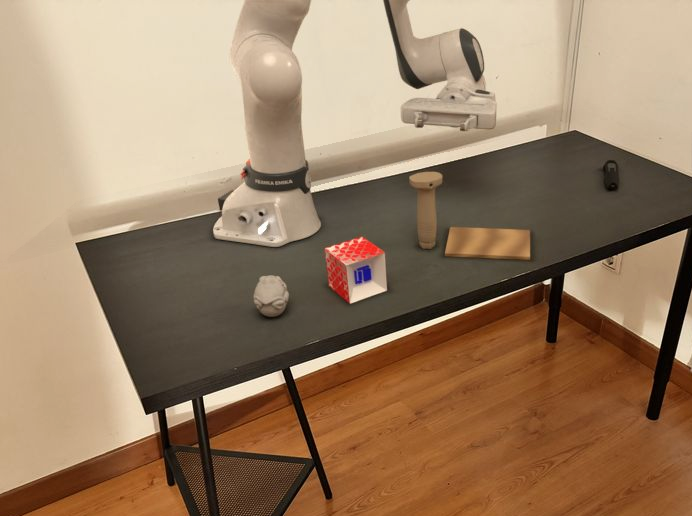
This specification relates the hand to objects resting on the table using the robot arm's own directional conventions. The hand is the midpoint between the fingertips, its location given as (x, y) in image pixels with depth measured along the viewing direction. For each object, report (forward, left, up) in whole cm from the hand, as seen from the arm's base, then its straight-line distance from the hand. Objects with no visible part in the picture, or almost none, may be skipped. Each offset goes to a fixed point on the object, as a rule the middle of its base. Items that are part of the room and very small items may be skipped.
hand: (440, 125), depth 145 cm
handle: (-2, -12, -21) cm, 24 cm away
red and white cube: (-13, -30, -21) cm, 39 cm away
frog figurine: (-26, -40, -21) cm, 52 cm away
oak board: (+11, -10, -21) cm, 26 cm away
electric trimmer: (+39, +27, -21) cm, 52 cm away
